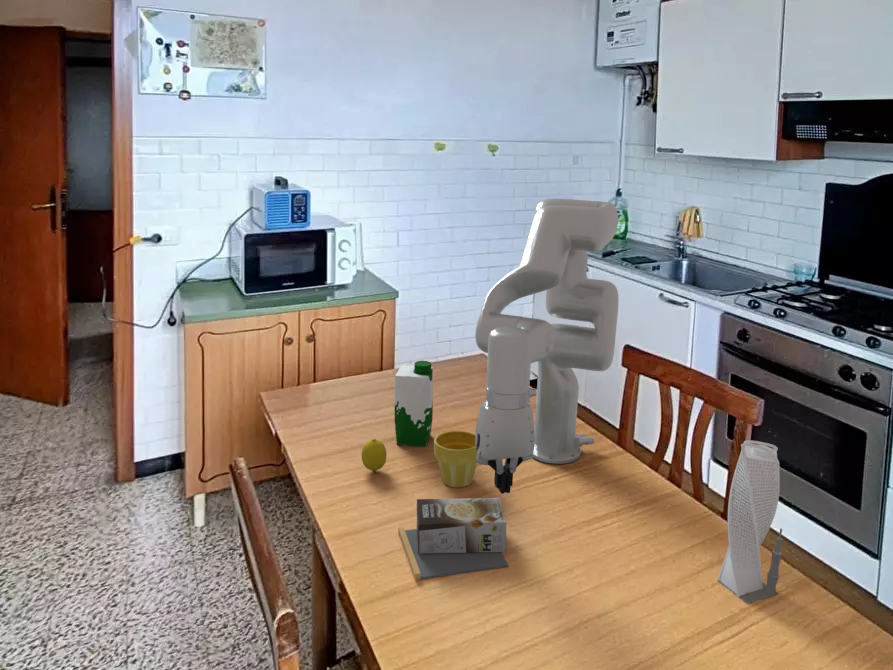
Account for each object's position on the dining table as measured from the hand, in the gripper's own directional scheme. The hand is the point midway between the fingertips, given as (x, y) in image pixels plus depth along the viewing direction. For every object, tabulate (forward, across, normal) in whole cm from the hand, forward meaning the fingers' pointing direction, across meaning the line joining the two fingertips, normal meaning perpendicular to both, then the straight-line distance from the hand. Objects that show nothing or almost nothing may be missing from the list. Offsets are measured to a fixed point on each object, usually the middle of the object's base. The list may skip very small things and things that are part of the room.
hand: (503, 489), depth 134 cm
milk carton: (+11, +6, -47) cm, 49 cm away
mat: (+11, +9, 0) cm, 14 cm away
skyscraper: (+12, -36, +22) cm, 44 cm away
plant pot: (+11, +2, -25) cm, 28 cm away
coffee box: (+8, -1, 0) cm, 8 cm away
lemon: (+11, +18, -33) cm, 40 cm away
